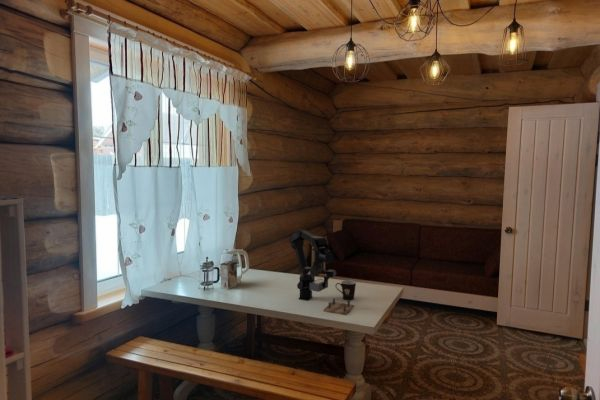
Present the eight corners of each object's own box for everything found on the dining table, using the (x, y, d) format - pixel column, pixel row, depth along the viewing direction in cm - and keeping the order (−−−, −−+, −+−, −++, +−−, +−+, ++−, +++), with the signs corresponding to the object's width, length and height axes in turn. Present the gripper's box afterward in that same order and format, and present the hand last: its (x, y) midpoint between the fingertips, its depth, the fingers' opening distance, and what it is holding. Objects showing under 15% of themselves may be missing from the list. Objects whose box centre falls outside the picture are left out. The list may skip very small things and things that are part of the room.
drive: (309, 289, 227) (309, 282, 227) (319, 285, 235) (319, 278, 235) (318, 291, 224) (318, 284, 223) (328, 287, 232) (328, 280, 232)
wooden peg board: (323, 311, 222) (323, 304, 222) (332, 303, 235) (332, 296, 234) (346, 315, 217) (346, 308, 216) (354, 306, 229) (354, 299, 229)
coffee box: (230, 284, 270) (229, 260, 269) (237, 285, 267) (237, 261, 265) (220, 287, 262) (220, 263, 261) (228, 289, 259) (227, 264, 257)
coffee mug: (358, 298, 243) (358, 282, 242) (349, 302, 237) (349, 285, 236) (343, 293, 251) (343, 278, 250) (334, 297, 245) (334, 281, 244)
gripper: (297, 261, 225) (297, 288, 226) (329, 264, 217) (329, 293, 218) (306, 256, 235) (306, 283, 236) (336, 260, 227) (336, 287, 228)
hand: (319, 286), depth 230 cm, fingers closed on drive, 6 cm apart
